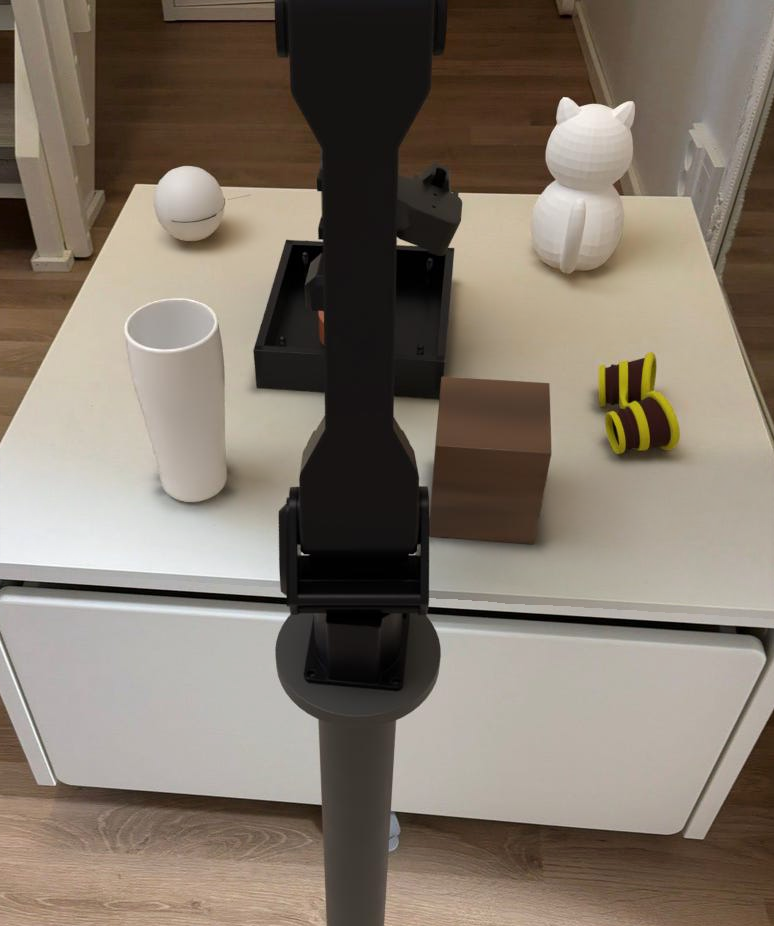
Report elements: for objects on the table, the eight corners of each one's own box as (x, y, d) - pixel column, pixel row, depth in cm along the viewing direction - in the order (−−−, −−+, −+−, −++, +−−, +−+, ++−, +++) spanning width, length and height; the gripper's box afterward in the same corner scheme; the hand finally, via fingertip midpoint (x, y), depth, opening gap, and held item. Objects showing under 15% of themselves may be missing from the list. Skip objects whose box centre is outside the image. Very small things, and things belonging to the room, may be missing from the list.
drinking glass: (157, 456, 85) (128, 297, 74) (238, 454, 85) (222, 295, 74) (148, 513, 80) (116, 353, 69) (234, 511, 80) (216, 350, 69)
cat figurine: (616, 231, 107) (647, 83, 96) (616, 297, 99) (650, 143, 88) (529, 224, 109) (550, 78, 97) (522, 288, 100) (544, 136, 89)
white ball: (155, 256, 106) (144, 188, 101) (162, 220, 111) (152, 153, 105) (251, 254, 106) (246, 185, 100) (254, 217, 111) (249, 151, 105)
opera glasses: (593, 397, 90) (591, 350, 86) (655, 387, 89) (656, 339, 86) (612, 470, 84) (611, 423, 80) (679, 460, 83) (681, 412, 79)
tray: (441, 399, 89) (445, 361, 86) (256, 388, 91) (253, 350, 88) (451, 284, 101) (454, 247, 98) (287, 276, 103) (285, 239, 100)
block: (534, 544, 77) (551, 453, 70) (427, 536, 78) (435, 445, 71) (533, 473, 82) (549, 382, 76) (433, 466, 83) (441, 375, 77)
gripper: (455, 217, 73) (441, 394, 84) (464, 105, 85) (451, 273, 97) (300, 211, 74) (307, 386, 86) (332, 101, 86) (334, 267, 98)
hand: (355, 324), depth 91 cm, fingers closed on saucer, 7 cm apart
